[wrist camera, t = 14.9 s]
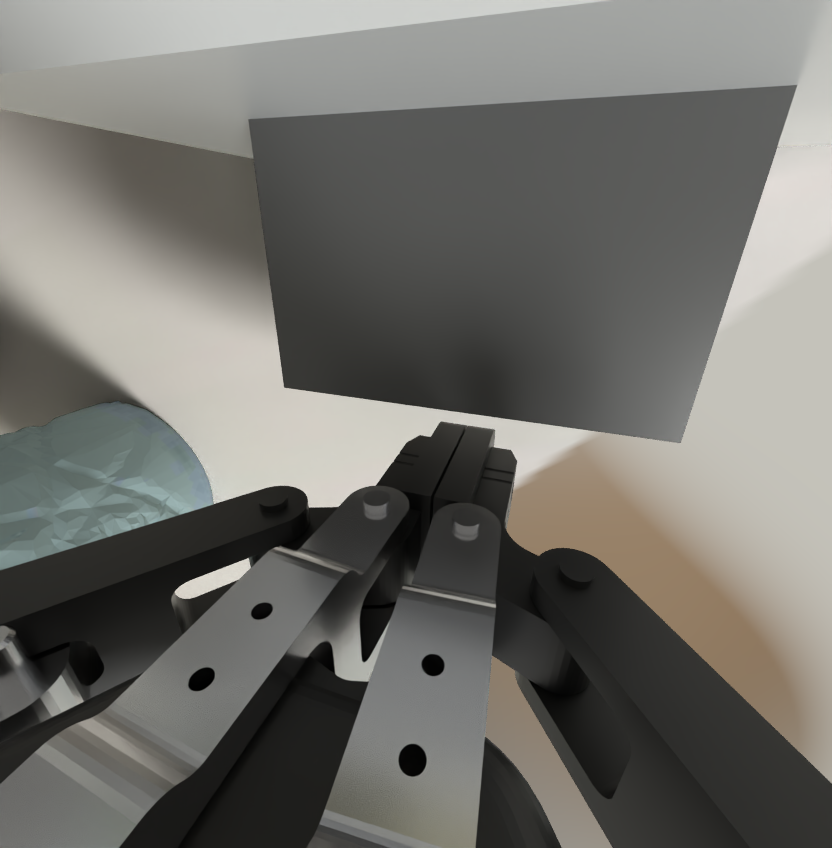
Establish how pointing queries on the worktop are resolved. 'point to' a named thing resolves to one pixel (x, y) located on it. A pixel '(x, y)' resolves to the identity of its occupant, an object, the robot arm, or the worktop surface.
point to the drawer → (468, 176)
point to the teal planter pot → (92, 480)
